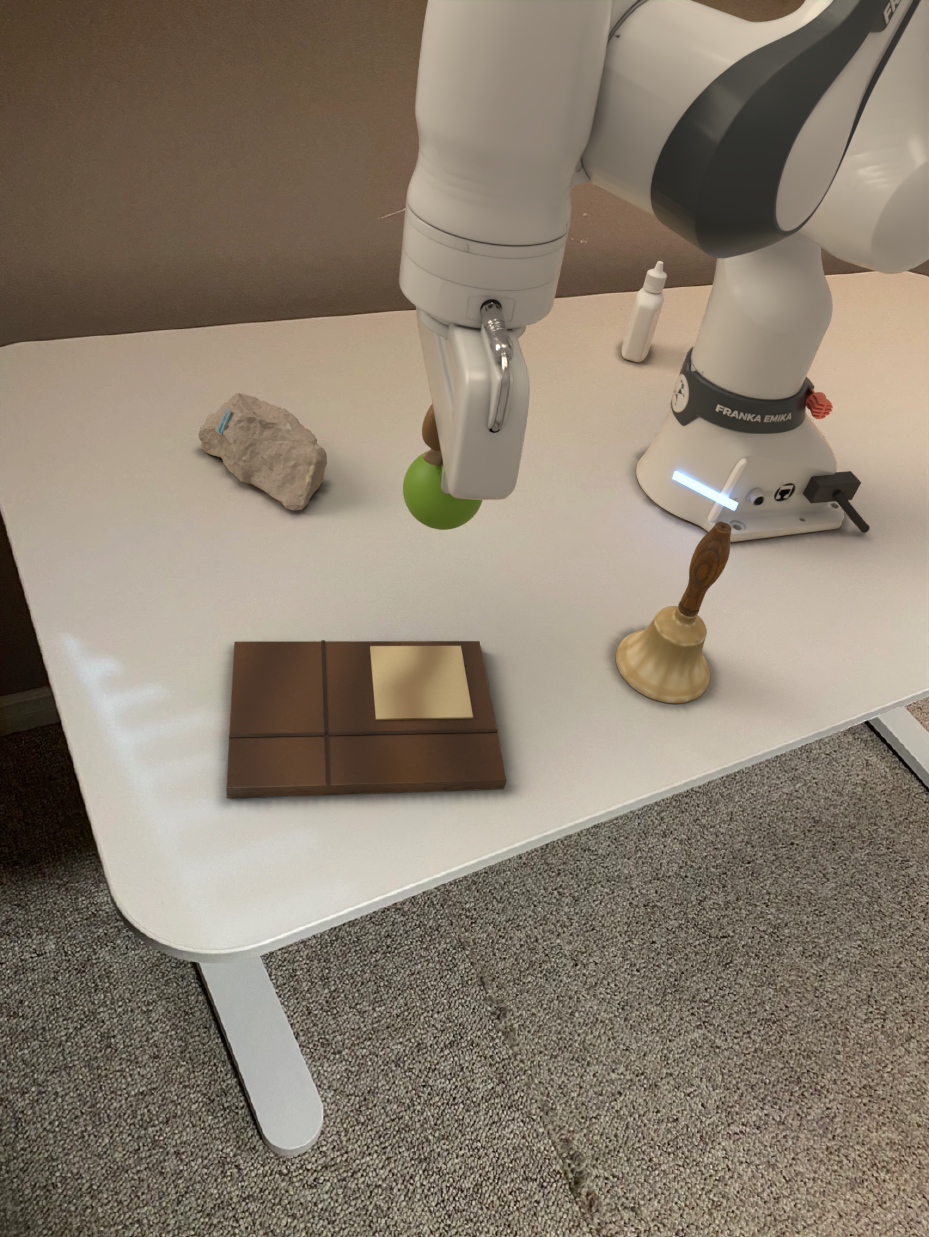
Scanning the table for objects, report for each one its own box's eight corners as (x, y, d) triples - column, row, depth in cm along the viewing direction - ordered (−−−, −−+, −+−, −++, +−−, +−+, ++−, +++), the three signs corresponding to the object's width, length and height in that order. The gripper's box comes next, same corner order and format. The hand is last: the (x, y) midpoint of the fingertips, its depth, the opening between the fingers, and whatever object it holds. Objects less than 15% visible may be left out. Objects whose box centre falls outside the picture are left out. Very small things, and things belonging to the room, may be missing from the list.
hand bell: (724, 700, 79) (797, 559, 67) (633, 707, 77) (693, 563, 65) (688, 629, 84) (750, 488, 73) (602, 634, 82) (653, 490, 71)
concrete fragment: (283, 521, 87) (283, 468, 83) (192, 450, 93) (187, 397, 88) (339, 492, 91) (342, 441, 87) (248, 426, 97) (247, 375, 93)
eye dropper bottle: (660, 354, 120) (688, 264, 112) (634, 366, 117) (660, 274, 109) (634, 339, 122) (660, 250, 114) (607, 350, 119) (632, 259, 111)
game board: (477, 650, 79) (480, 639, 78) (504, 789, 69) (507, 778, 68) (235, 651, 75) (234, 639, 74) (227, 798, 65) (226, 786, 64)
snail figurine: (502, 518, 65) (535, 366, 57) (440, 557, 61) (465, 399, 53) (446, 481, 67) (469, 329, 59) (383, 516, 64) (398, 358, 55)
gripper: (574, 365, 45) (522, 575, 54) (507, 195, 59) (475, 386, 69) (445, 357, 44) (415, 574, 53) (408, 186, 58) (390, 382, 67)
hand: (449, 467), depth 61 cm, fingers closed on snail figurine, 3 cm apart
